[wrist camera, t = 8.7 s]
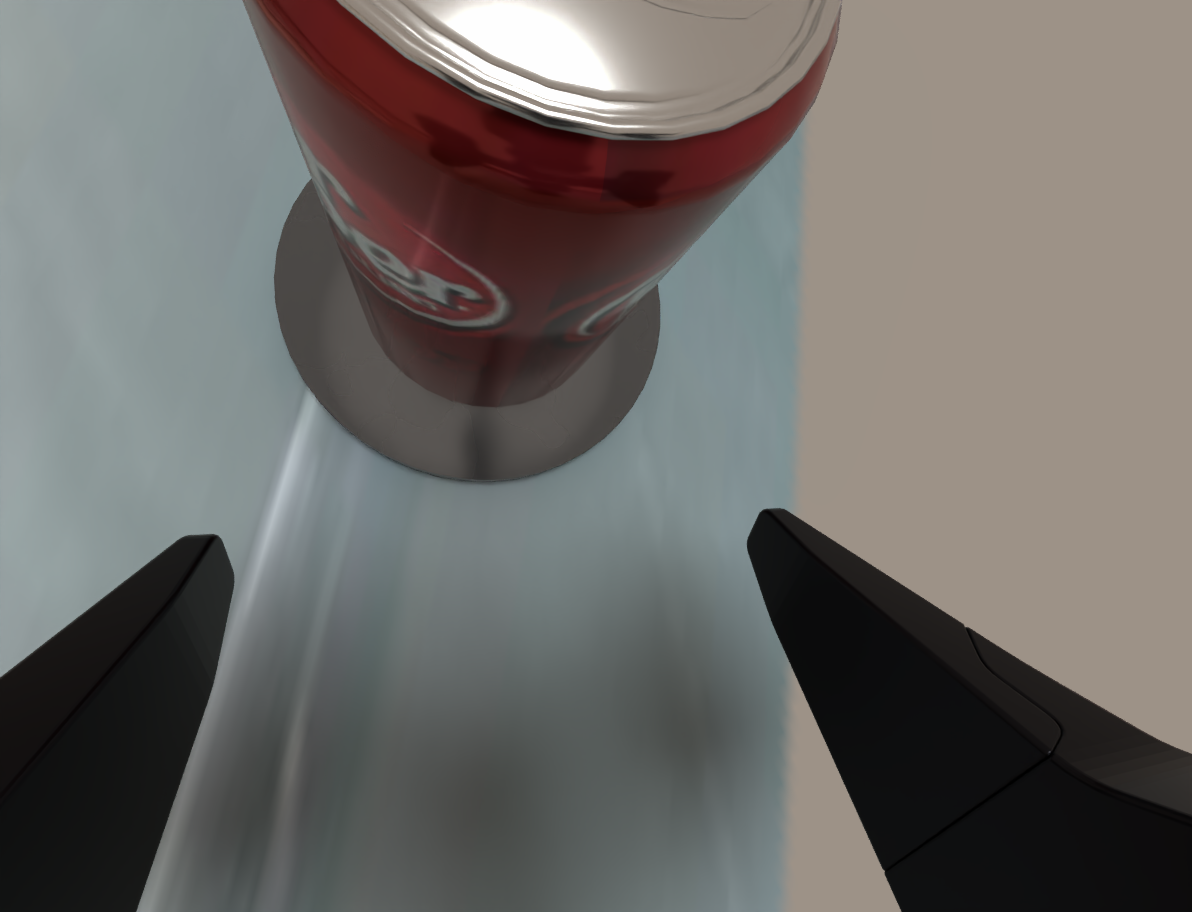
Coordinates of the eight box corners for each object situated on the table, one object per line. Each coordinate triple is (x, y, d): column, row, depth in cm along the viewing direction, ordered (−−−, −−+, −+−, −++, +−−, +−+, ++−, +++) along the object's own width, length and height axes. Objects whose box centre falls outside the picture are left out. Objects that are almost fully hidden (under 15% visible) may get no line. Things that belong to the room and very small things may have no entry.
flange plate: (692, 428, 19) (702, 424, 18) (343, 530, 16) (338, 531, 15) (596, 121, 20) (602, 104, 19) (235, 152, 16) (224, 133, 15)
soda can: (584, 199, 18) (831, -351, 7) (605, 406, 17) (918, 196, 6) (355, 182, 16) (134, -665, 5) (369, 417, 15) (155, 124, 4)
